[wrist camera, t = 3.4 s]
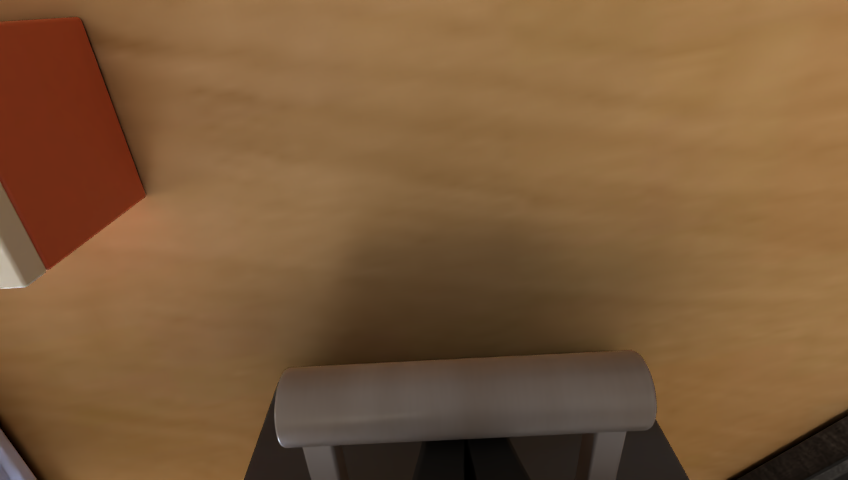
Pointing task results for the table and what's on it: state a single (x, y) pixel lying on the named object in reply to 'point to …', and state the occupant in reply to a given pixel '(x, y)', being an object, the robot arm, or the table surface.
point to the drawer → (467, 417)
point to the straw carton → (56, 148)
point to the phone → (810, 458)
